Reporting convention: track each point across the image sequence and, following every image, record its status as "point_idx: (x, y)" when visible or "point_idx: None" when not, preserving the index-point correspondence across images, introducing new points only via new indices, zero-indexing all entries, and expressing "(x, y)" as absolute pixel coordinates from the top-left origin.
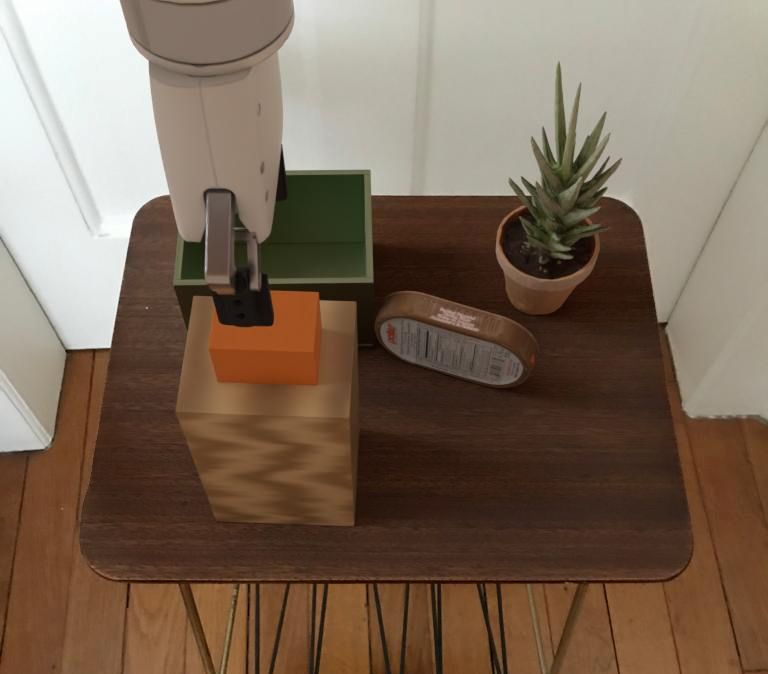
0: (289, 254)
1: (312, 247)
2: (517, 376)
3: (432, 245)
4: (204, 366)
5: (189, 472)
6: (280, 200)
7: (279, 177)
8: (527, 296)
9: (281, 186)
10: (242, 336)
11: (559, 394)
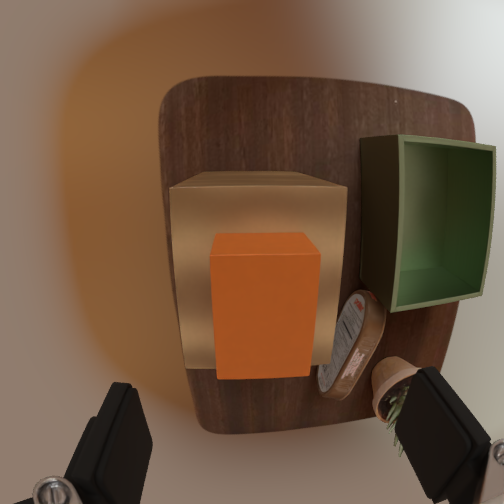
0: (438, 212)
1: (442, 229)
2: (319, 379)
3: (432, 309)
4: (238, 213)
5: (246, 144)
6: (396, 424)
7: (413, 461)
8: (377, 379)
9: (405, 449)
10: (235, 298)
11: (313, 388)
